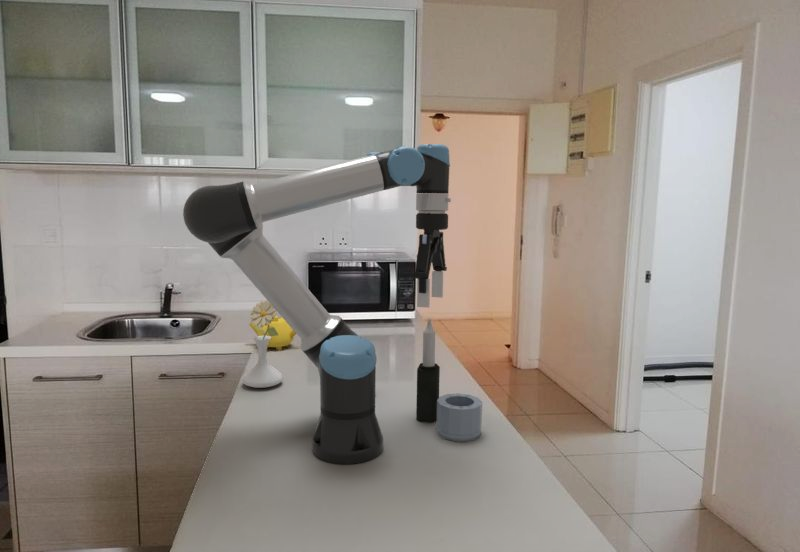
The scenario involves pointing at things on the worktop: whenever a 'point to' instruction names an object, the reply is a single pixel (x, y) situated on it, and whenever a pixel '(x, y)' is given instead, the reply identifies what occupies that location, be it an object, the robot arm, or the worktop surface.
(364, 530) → the worktop surface
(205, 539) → the worktop surface
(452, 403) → the pale blue faceted cup
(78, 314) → the worktop surface
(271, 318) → the flower in vase
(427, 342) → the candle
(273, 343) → the teapot
